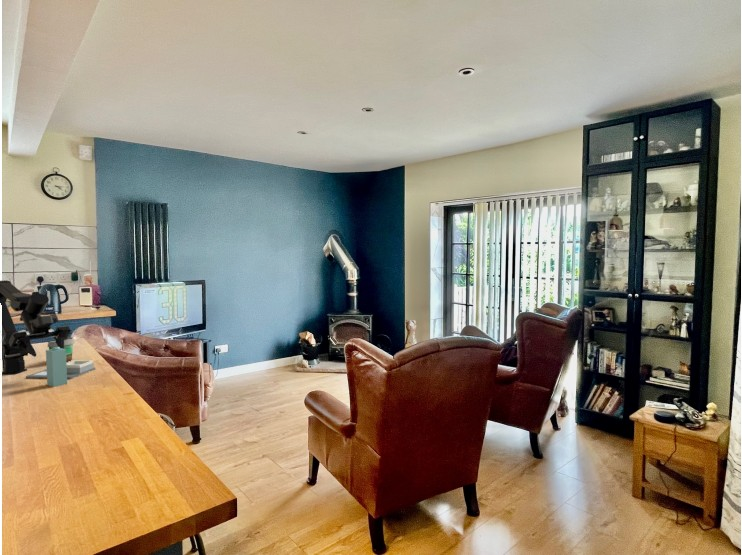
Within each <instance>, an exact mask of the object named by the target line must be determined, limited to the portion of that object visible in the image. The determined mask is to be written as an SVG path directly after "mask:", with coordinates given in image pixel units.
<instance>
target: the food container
mask: <svg viewBox="0 0 742 555" xmlns="http://www.w3.org/2000/svg"><path fill="white" fill-rule="evenodd" d="M74 343H75V340H74V337H72V336H68V337H67V339H65V340H64V349H66V363H68V361H70V362H71V360H72V361H73V345H74ZM53 347H58V345H57V344H56V342H55V341H48V343H47V348H48V350H50V349H52V348H53Z"/></svg>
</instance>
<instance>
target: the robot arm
mask: <svg viewBox="0 0 742 555" xmlns="http://www.w3.org/2000/svg"><path fill="white" fill-rule="evenodd" d="M8 300H9V302H10V304H9V307H11V309H12V310H13V311H15V312H20V313H19V314H20V317H19V321H20V322H21V321H22V322H23V323H24V326H25V327H26V328H25V330H24V331H19V332H18V330H17V327H16V326H15V323H14V321H13V317H12V316H11V313H10V310H9V308H8V305H7V303H6V302H7V301H8ZM49 302H50V298H49V296H47V295H46V294H43V293H40V292H39V291H32V292H31V294H30V293H26V292H23V291H21V290H20V289H18V288H17V287H16V286H14V284H12V282H11V281H10V280H7V279H5V280H0V303H1V305H2V334H1V336H2V338H1V341H2V360H1V361H2V371H1V372H2V374H1V375H15V374H19V373H22V372H25V370H26V371H28V368H26V366H25V364H26V362H25V359H24V358H25V357H26V356H27V357H28V355H31V356H32V357H34V358H35V357H37V352H36V350H35V348H34V347H33V345H32V343H31V341H33V340H41V339H49V338H53V339H54V342H56V344H57V345H58V347H60V348H62V349H64V340H65V339H67V337H69V335H70V333H71V332H72V329H71V327H70V326H69V325H62V326H57V327H56V329H55V330H54V331H49V330H51V329H52V325H54V324H56V323H57V322H59V318H58V316H57V314H56V313H53V314H49V315H45V316H44V315H42V313H43V312H44V311H45V309H46V307H47V305H48V304H49ZM27 332H28V333H27Z"/></svg>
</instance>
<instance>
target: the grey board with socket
mask: <svg viewBox="0 0 742 555" xmlns="http://www.w3.org/2000/svg"><path fill="white" fill-rule="evenodd" d="M66 366H67V380H71V379H75V378H77V377H80V376H82V375H84V373H85V374H87V373H90V372H92V371H94V369H95V370H96V367H94V360H91V359H89V360H85V359H84V360H83V359H82V360H81V359H80V360H79V359H78V360H77V359H76V360H75V359H74V360H72V361H70V362H66ZM89 371H90V372H89ZM86 372H87V373H86ZM81 374H82V375H81ZM79 375H80V376H79ZM74 377H75V378H74ZM38 378H47V368H46V369H43V370H40V371H37V372H34V373H31V374H29V375H26V376H25V379H38Z"/></svg>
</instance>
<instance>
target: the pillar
mask: <svg viewBox="0 0 742 555" xmlns="http://www.w3.org/2000/svg"><path fill="white" fill-rule="evenodd" d="M45 360H46V369H47V379H46V384H47V386H48V385H50V386H49V387H52V386H53V387H52V388H55V386H56V387H59V386H60V387H61V386H64V384H65V385H68V379H67V366H66V363H67V362H66V349H62V348H60V347H53V348H52V349H50V350H49V349H45Z"/></svg>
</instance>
